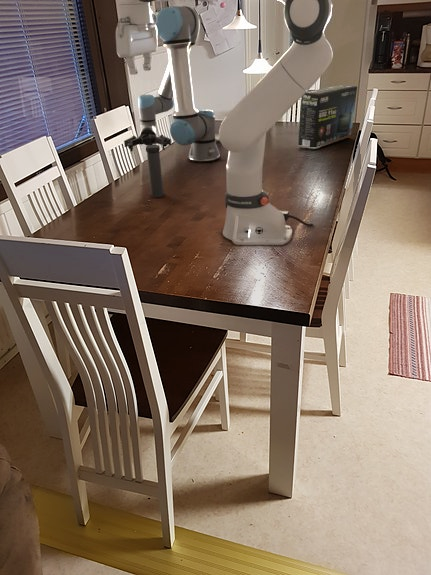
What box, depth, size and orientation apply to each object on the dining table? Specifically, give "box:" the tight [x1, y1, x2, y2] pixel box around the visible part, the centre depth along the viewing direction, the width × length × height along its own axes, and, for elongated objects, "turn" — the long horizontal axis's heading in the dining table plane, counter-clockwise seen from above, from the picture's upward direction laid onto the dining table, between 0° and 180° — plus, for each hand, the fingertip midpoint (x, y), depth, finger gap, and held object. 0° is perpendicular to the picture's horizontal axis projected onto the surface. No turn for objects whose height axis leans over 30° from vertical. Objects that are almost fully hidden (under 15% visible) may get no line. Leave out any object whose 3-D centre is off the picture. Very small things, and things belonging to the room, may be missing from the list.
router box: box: [297, 84, 358, 151], centre depth 238 cm, size 36×11×27 cm, turn 134°
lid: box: [145, 144, 161, 153], centre depth 174 cm, size 5×5×2 cm
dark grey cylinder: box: [146, 151, 164, 198], centre depth 179 cm, size 5×5×19 cm
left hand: (147, 147), depth 193 cm, fingers open, 13 cm apart
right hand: (140, 72), depth 133 cm, fingers open, 8 cm apart
